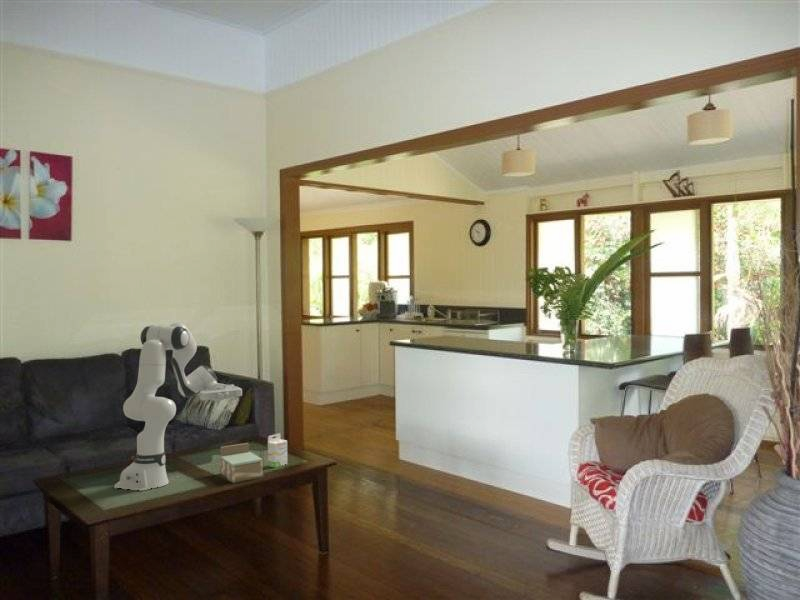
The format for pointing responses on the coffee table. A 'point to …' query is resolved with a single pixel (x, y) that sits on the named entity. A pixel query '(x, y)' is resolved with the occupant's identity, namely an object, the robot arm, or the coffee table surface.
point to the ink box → (277, 451)
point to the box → (241, 471)
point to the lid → (238, 455)
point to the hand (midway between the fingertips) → (225, 395)
